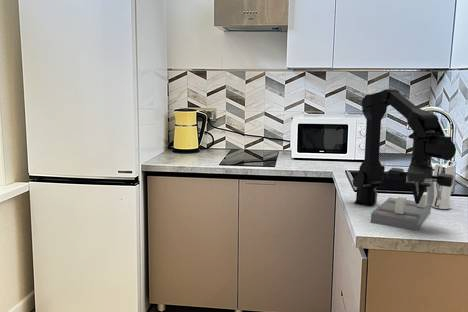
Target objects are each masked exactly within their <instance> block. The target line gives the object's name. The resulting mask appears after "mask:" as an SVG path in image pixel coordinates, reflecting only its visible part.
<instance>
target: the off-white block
mask: <svg viewBox="0 0 468 312" xmlns="http://www.w3.org/2000/svg"><path fill="white" fill-rule="evenodd" d="M427 196H428V193H427V191H425V192H424V194H423V196H422V198H421V200H420V202H419V204H417V207H422V208H425V207H426V205H427Z"/></svg>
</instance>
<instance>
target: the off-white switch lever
mask: <svg viewBox="0 0 468 312" xmlns="http://www.w3.org/2000/svg"><path fill="white" fill-rule="evenodd" d="M396 198H397V199H396V204H395V213H398V214H403V213H404V212H405V209H406V200H407V197H401V196H398V197H396Z"/></svg>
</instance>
